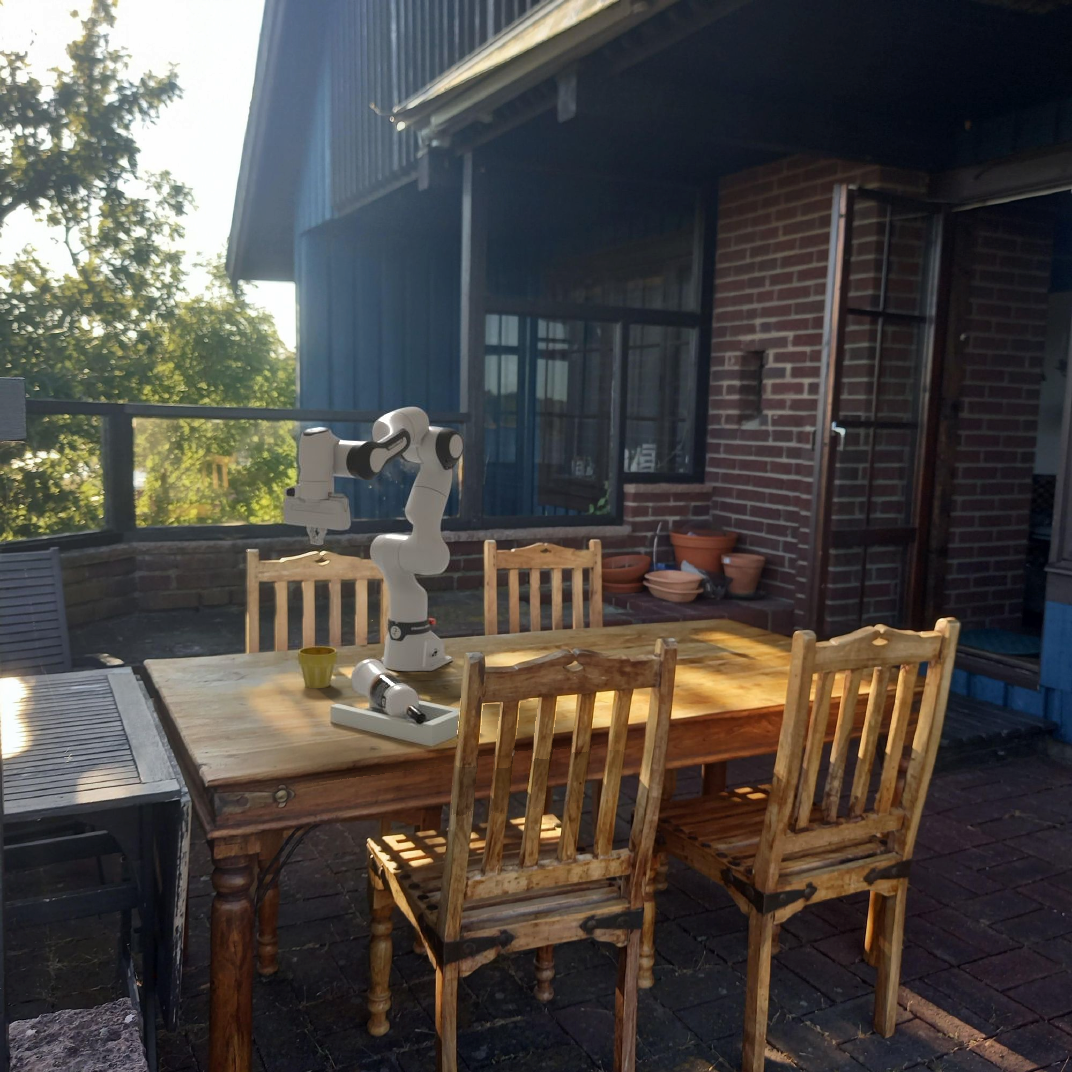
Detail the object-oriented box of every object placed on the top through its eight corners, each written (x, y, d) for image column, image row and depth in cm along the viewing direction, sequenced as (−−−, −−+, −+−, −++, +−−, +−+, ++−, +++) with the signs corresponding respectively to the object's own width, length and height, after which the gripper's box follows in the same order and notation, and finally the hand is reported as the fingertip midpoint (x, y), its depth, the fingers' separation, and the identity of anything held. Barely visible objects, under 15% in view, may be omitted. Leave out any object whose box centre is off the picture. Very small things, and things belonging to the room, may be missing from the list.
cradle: (375, 706, 267) (375, 687, 266) (473, 728, 251) (474, 708, 251) (330, 721, 252) (330, 701, 252) (431, 746, 237) (432, 725, 236)
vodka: (378, 692, 267) (434, 738, 243) (346, 691, 262) (399, 737, 238) (386, 658, 266) (443, 700, 242) (353, 656, 260) (408, 699, 236)
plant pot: (298, 691, 278) (299, 655, 277) (296, 681, 288) (297, 646, 286) (338, 689, 281) (338, 654, 279) (334, 679, 290) (335, 645, 289)
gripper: (356, 493, 265) (356, 546, 267) (295, 487, 275) (296, 539, 277) (339, 495, 260) (339, 549, 262) (278, 489, 270) (279, 542, 272)
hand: (316, 544), depth 270 cm, fingers closed
